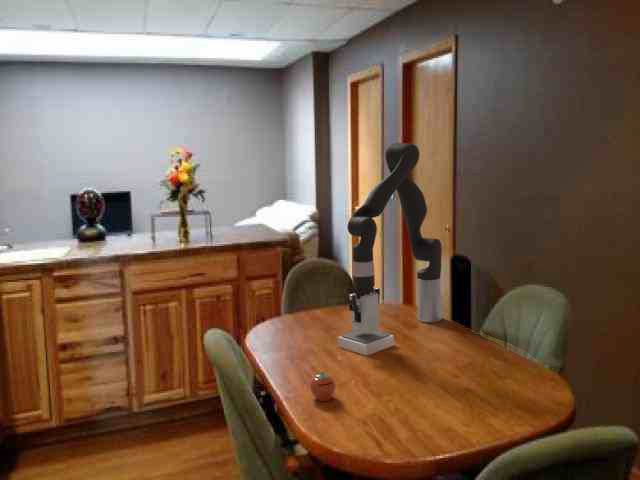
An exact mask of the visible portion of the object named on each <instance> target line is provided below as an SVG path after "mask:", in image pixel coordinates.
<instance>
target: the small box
mask: <svg viewBox="0 0 640 480" xmlns="http://www.w3.org/2000/svg"><path fill="white" fill-rule="evenodd" d="M350 294H351V295H352V294H353V293H350ZM356 302H357V303H362V306H361V311H360V312H361V322H360V323H358V322H356V321H355V314H354V311H350V313H351V315H350V316H351V317H350V319H351V330H352V331H359V332H362V333H366V334H369V333H372V332H375V331H378V332H379V331H380V330H381V329H380V327H381V326H380V303H379V300H378V294H373V293H372V294H371V295H369V294H367V296H361V297H360V300H359V298H358V297H357V298H356ZM358 306H359V305H357V309H358Z"/></svg>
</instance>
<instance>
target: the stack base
mask: <svg viewBox="0 0 640 480" xmlns="http://www.w3.org/2000/svg"><path fill="white" fill-rule="evenodd" d="M394 338H395V336H394V335H393V334H390V333H386V332H381V331H379V330H378V331H375V332H372V333H369V334H366V333H362V332H359V331H355V330H353V331H351V332H349V333H346V334H342V335H340V336H337V347H339V348H341V349H345V350H347V351H350V352H353V353H357V354H359V355H360V354H361V355H363V356H368V355H372V354H374V353H377V352H379V351H382V350H385V349H388V348H390V347H394V346H395V341H394V340H395V339H394Z"/></svg>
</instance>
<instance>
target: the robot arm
mask: <svg viewBox="0 0 640 480" xmlns="http://www.w3.org/2000/svg"><path fill="white" fill-rule="evenodd" d="M384 153H385V156H384V157H385V162H386V164H387V168H388V170H389V173H390V174H389V175H387V176H386V177H385V178H384V179H383V180H381V181H379V182H378V183H377V184H376V185H375V186H374V187H373V188H372V189H371V191H369V192H370V193H369V194H368V196H367V198H366V199H365V200H364V201H365V202H364V203H363V204H362V205H361V206H360V207H359V208H358V209H357V210H356V211H355V212H354V213H353V215H351V217H350V218H349V220H348V223H347V231H348V233H349V234H350V235H351V236H352V237H359V238H360V240H359V243H356V244H354V245H353V247H352V283H353V284H352V287H354V293H350V294H348V295H347V299H348V308H349V311H350V312H351V311H354V314H355V321H356V322H358V323H360V322H361V312H360V311H361V306H362V303H357V302H356V298H357V297H358V298H359V300H360V297H361V296H367V294H369V295H371V294H372V293H373V294H378V300H379V304H380V301H381V300H380V299H381V297H380V296H381V289H380V288H378V287H375V285H376V282H375V280H376V279H375V264H374V246H375V241H376V237H377V234H378V233H377V232H378V228H377V223H376V221H375V220H374V219H373V218H376V217H380V216H381V215H382V213H383V212H384V211H385V208H386V206H387V205H388V202H389V201H390V199H391V198H392V196H393V195H394V193H395V192H397V195H398V198H399V204H400V207H401V210H402V214H403V217H404V220H405V223H406V224H405V225H406V228H407V231H408V236H409V241H410V247H411V253H412V256H413V258H414V259H415V260H417V261H419V262H429V263H428V266H426V267H424V268H421V269H419V270H418V271H416V288H417V292H416V293H417V320H418V321H419V322H422V323H438V322H441V321H442V319H443V295H442V294H441V293H442V291H441V287H442V285H441V284H442V283H441V273H442V257H443V256H442V254H443V251H442V250H443V248H442V242H441V240H440V239H438V238H433V237H431V238H429V237H423V235H422V233H421V228H422V225H423V223H424V221H425V219H426V217H427V213H428V206H427V202H426V199H425V195H424V193H423V191H422V190H421V188H420V187H419V186H418V184H416V182H415V181H414V180H413V179H412V178H411V176H410V174H411V173H412V171H413V170H414V169H415V167H417V164H418V162H419V161H420V149H419V148H418V146H417V145H415V144H414V143H413V144H412V143H407V142H405V143H403V142H391V143H390V144H388V145H387V147H386V149H385V152H384ZM351 294H352V295H351ZM357 305H359V306H358V309H357Z"/></svg>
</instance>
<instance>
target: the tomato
mask: <svg viewBox="0 0 640 480" xmlns="http://www.w3.org/2000/svg"><path fill="white" fill-rule="evenodd" d="M336 387H337V383H336V381H335V379H334V378H333V377H332V376H329V374H328V373H324V371H323V370H321V371H320V372H319V373H318V374H317V375H315V376H314V377H313V378H312V379H311V380H310V382H309V389H310V393H311V395H312V396H313V398H314V399H315V400H317V401H319V402H327V401H329V400H330V399H331V398H332V397H333V396H334V393H335V391H336V389H337V388H336Z"/></svg>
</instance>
